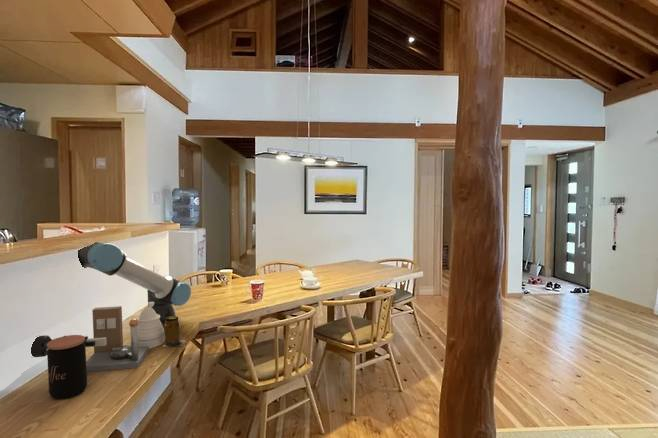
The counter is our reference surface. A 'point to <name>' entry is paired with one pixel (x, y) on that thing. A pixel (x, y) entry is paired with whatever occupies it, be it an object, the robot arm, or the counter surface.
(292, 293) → the counter surface
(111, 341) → the stand
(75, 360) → the coffee jar
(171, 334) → the condiment
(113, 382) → the counter surface
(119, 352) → the ball top joystick
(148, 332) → the honey pot
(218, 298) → the counter surface
